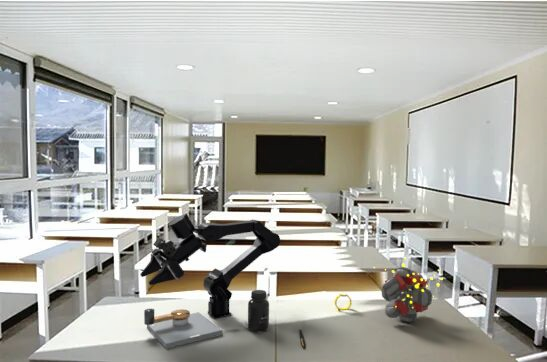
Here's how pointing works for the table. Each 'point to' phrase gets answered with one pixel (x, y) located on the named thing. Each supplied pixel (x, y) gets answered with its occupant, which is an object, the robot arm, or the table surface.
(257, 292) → the supplement bottle
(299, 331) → the fountain pen
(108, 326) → the table surface
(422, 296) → the molecule model
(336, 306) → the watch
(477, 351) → the table surface
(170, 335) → the base
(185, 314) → the crank handle
